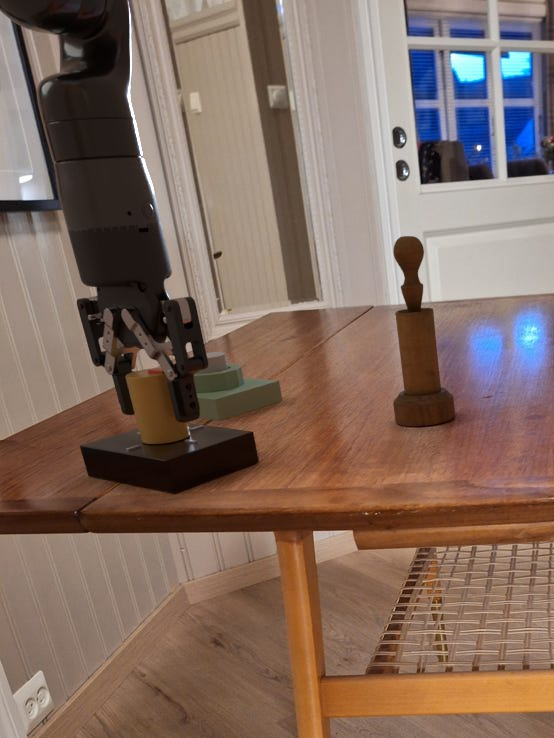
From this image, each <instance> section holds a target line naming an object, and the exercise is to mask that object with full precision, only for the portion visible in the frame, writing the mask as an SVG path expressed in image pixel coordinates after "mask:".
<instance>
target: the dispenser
mask: <svg viewBox="0 0 554 738" xmlns="http://www.w3.org/2000/svg"><path fill="white" fill-rule="evenodd" d="M227 365H228V369H227V370H223V371H220V372H213V373H202V374H198V373H196V374H195V375H194V383H195V388H196V392H197V397H198V402H199V406H200V416H199V418H198V419H202V420H211V421H218V422H220V421H223V420H227V419H230V418H233V417H236V416H239V415H243V414H246V413H249V412H252V411H255V410H258V409H259V410H260V409H261V408H265V407H269V406H271V405H274V404H277V403H281V402H283V395H282V390H281V383H280V381H279V380H275V379H263V378H252V377H244V374H243V369H242V366H241V365H240V364H238V363H227Z"/></svg>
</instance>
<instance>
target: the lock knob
mask: <svg viewBox="0 0 554 738" xmlns="http://www.w3.org/2000/svg"><path fill="white" fill-rule="evenodd" d="M134 371H135V372H131V373H129V374H127V375H126V376H125V377H126V381H127V385H128V389H129V393H130V397H131V401H132V405H133V409H134V412H135V414H134V416H135V420H136V424H137V428H139V432H140V436H141V440H142V442H143V443H146V444H164V443H171V442H176V441H179V440H182V439H185V438H187V437H189V436H190V431H189V426H188V423H189V422H186V423H183V422H178V421H177V420H176V418H175V414H174V410H173V406H172V401H171V397H170V393H169V389H168V384H167V381H170V380H169V379H168V378H167V376H166V375H165V373H164V371H163V370H162V368H161V367H152V368H145V369H140V370H134Z"/></svg>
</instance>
